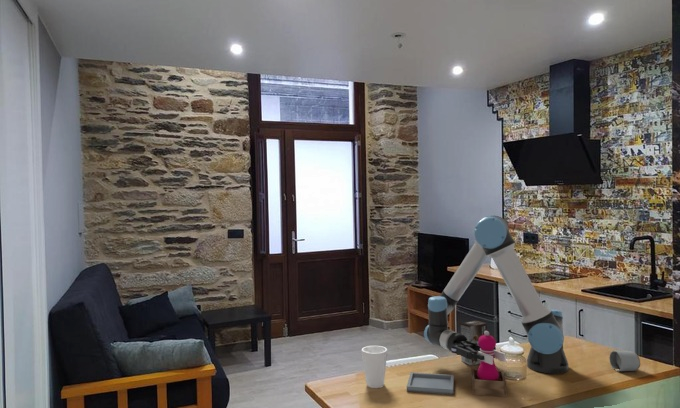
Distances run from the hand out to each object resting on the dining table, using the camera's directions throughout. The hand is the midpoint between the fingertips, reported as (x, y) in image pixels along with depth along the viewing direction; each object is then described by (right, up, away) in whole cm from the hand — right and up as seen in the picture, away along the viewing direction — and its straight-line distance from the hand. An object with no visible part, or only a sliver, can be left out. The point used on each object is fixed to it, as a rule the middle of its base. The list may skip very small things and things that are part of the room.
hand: (498, 358), depth 161 cm
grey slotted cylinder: (+55, -11, +21) cm, 60 cm away
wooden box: (-2, -12, +5) cm, 13 cm away
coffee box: (+1, -12, +34) cm, 36 cm away
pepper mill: (-2, -12, +5) cm, 13 cm away
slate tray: (-21, -13, +10) cm, 27 cm away
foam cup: (-41, -14, +12) cm, 45 cm away
